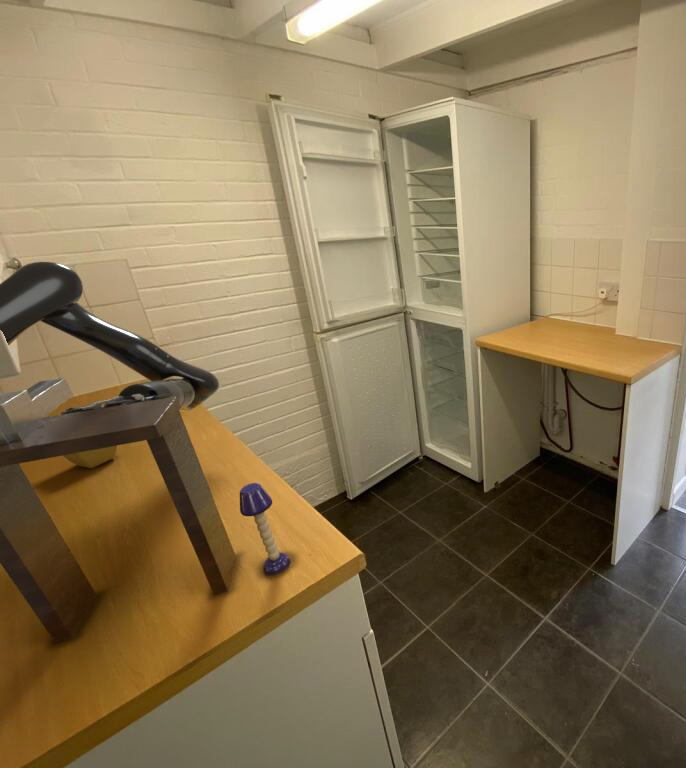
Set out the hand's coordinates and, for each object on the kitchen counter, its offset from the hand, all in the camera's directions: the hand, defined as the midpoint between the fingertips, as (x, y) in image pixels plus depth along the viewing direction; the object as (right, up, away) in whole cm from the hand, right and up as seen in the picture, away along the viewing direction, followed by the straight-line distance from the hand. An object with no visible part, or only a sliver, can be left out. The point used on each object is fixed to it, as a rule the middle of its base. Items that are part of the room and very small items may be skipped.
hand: (94, 414), depth 70 cm
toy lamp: (+28, -27, +4) cm, 40 cm away
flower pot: (-36, -15, +37) cm, 54 cm away
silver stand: (+3, 0, -12) cm, 12 cm away
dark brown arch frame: (+11, -30, -1) cm, 32 cm away
